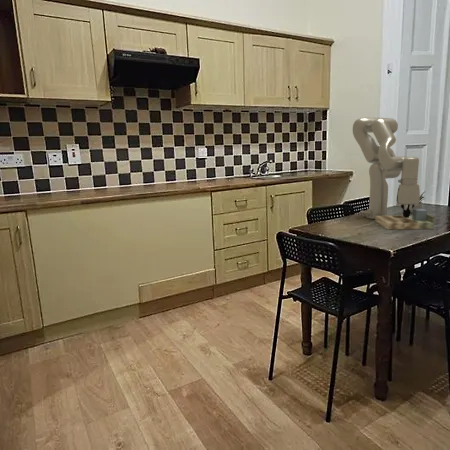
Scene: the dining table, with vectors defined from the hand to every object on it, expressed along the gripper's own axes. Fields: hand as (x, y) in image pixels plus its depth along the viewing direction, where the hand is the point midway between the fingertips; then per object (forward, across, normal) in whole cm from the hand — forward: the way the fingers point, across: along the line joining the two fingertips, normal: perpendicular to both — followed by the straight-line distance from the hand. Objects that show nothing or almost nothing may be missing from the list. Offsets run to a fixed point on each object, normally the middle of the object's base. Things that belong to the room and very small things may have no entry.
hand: (406, 217), depth 192 cm
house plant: (+4, +17, +34) cm, 38 cm away
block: (+1, +6, -1) cm, 6 cm away
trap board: (+4, -1, 0) cm, 4 cm away
